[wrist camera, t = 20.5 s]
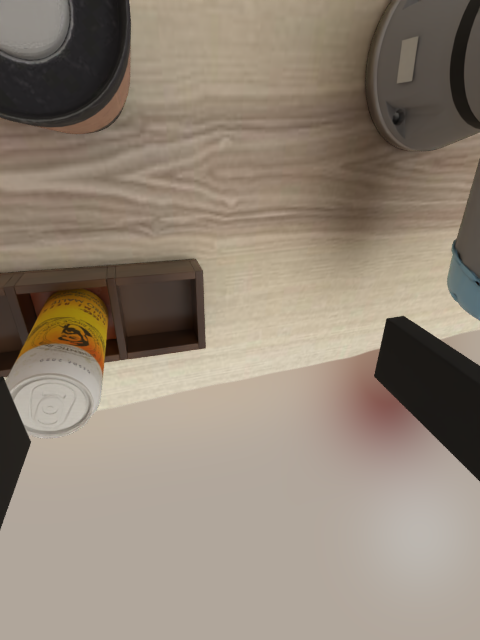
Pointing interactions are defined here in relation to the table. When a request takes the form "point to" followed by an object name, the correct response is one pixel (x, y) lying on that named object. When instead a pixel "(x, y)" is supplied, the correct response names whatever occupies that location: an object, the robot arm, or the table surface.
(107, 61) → the travel mug
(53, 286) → the rack
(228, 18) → the table surface
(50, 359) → the beer can
